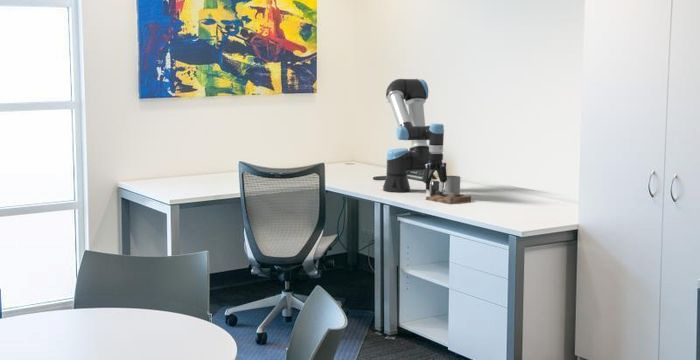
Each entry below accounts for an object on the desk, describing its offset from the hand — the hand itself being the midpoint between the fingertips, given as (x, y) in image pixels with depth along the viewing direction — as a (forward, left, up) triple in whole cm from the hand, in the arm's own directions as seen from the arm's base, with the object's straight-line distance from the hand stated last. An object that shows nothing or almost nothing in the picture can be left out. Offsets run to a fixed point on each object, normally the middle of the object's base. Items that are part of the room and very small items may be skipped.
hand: (434, 194), depth 479 cm
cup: (-2, +15, -2) cm, 15 cm away
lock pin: (+6, 0, -1) cm, 6 cm away
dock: (+11, -1, -1) cm, 12 cm away
